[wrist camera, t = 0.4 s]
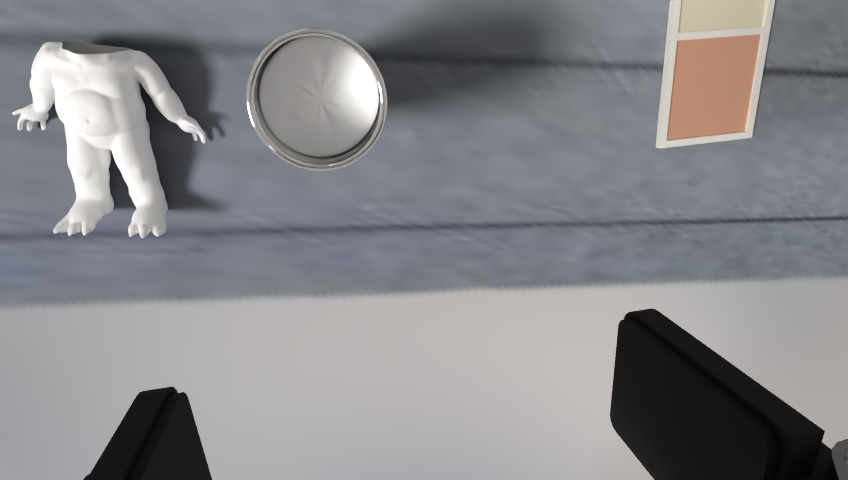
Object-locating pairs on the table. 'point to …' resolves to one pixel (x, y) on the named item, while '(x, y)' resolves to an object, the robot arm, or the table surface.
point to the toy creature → (105, 127)
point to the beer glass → (316, 99)
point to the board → (712, 70)
